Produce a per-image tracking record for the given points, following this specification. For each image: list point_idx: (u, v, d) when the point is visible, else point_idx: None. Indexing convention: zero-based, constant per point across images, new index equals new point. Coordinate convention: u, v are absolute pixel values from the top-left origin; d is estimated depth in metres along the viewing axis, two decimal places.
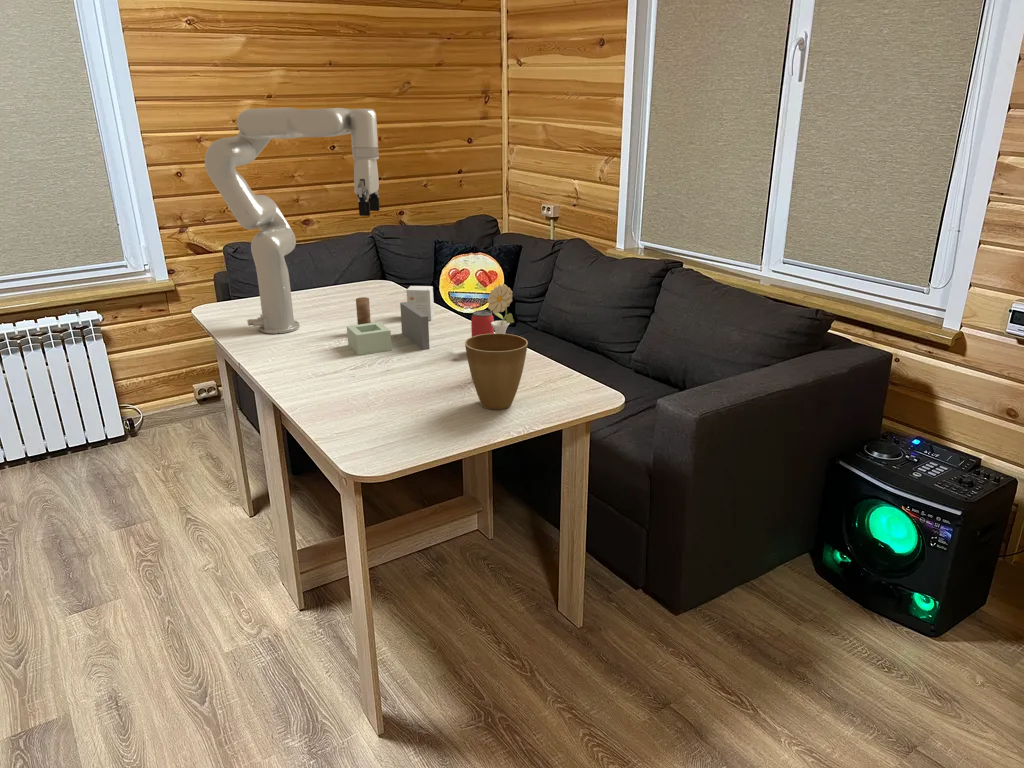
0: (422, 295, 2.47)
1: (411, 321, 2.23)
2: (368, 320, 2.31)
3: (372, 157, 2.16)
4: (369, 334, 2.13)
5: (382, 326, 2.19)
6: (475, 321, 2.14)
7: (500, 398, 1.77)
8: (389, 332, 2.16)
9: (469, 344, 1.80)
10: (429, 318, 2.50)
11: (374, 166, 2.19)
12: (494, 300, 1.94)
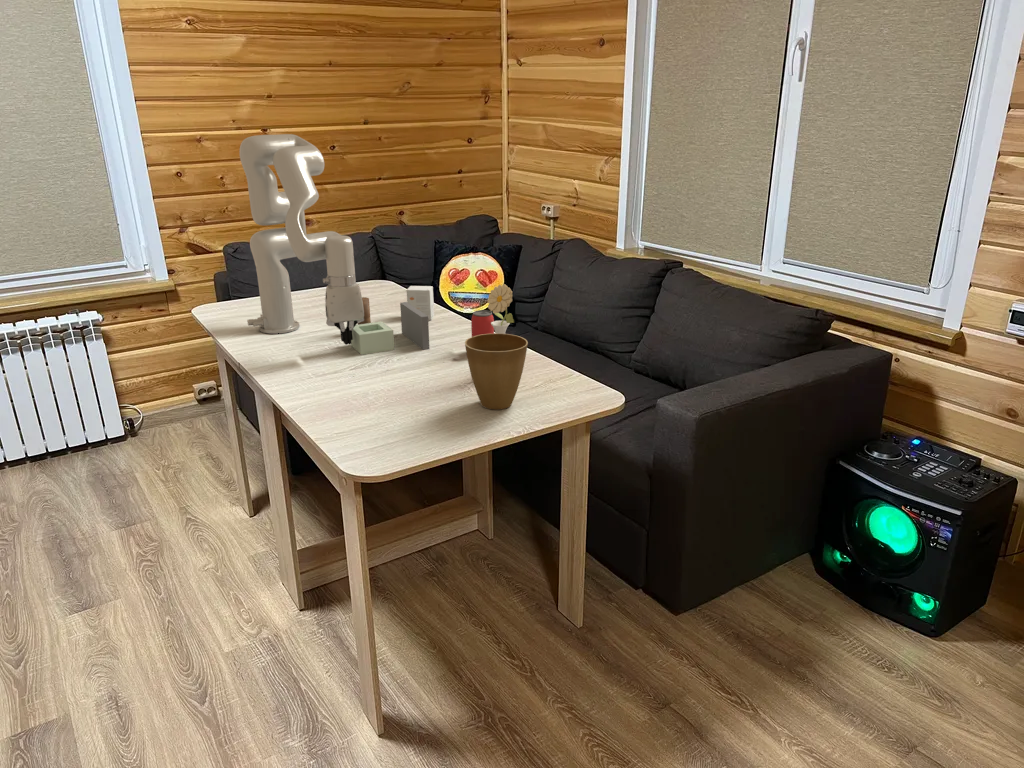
0: (422, 295, 2.47)
1: (411, 321, 2.23)
2: (368, 320, 2.31)
3: None
4: (371, 333, 2.13)
5: (385, 326, 2.20)
6: (475, 321, 2.14)
7: (500, 398, 1.77)
8: (392, 332, 2.16)
9: (469, 344, 1.80)
10: (429, 318, 2.50)
11: None
12: (494, 300, 1.94)
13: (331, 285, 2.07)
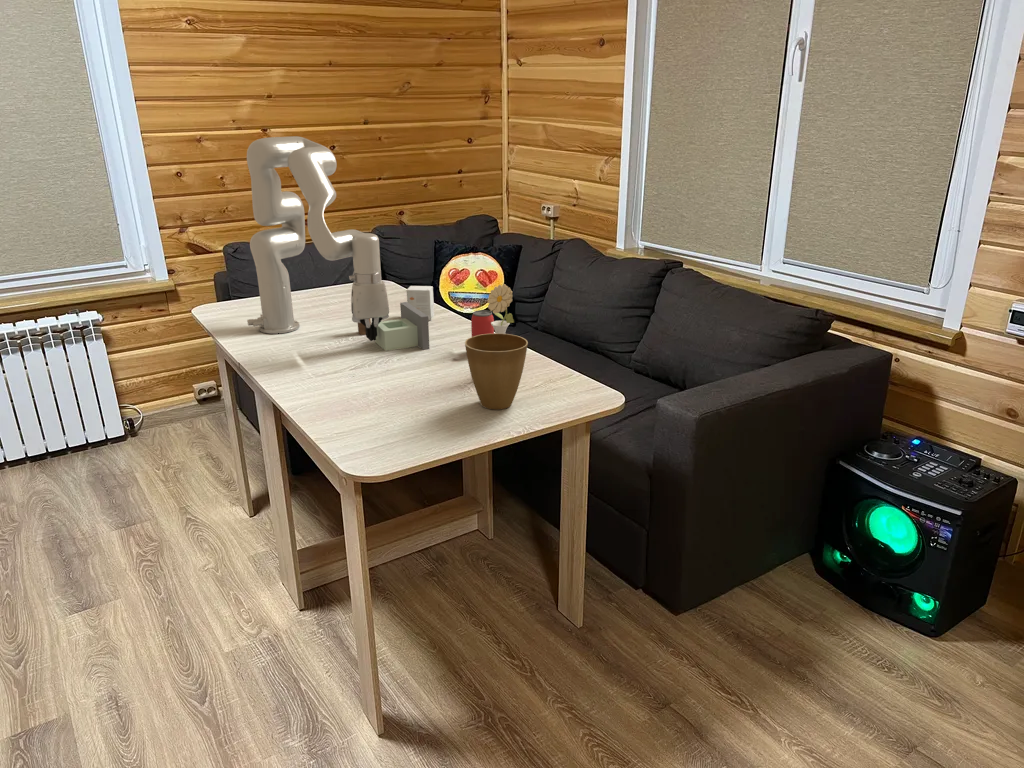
0: (422, 295, 2.47)
1: (411, 321, 2.23)
2: None
3: None
4: (396, 330, 2.16)
5: (408, 322, 2.23)
6: (475, 321, 2.14)
7: (500, 398, 1.77)
8: (416, 328, 2.19)
9: (469, 344, 1.80)
10: (429, 318, 2.50)
11: None
12: (494, 300, 1.94)
13: (357, 282, 2.10)
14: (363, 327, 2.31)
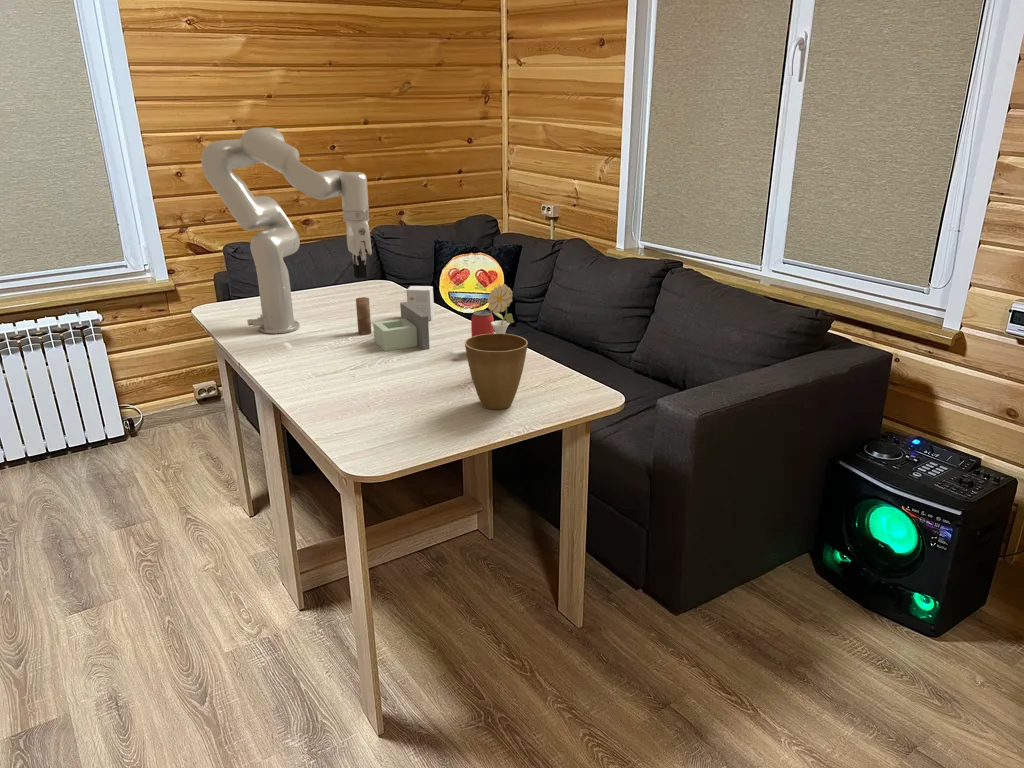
0: (422, 295, 2.47)
1: (411, 321, 2.23)
2: (368, 320, 2.31)
3: None
4: (395, 330, 2.16)
5: (408, 322, 2.23)
6: (475, 321, 2.14)
7: (500, 398, 1.77)
8: (415, 328, 2.19)
9: (469, 344, 1.80)
10: (429, 318, 2.50)
11: (348, 228, 2.21)
12: (494, 300, 1.94)
13: (364, 219, 2.18)
14: (363, 327, 2.31)
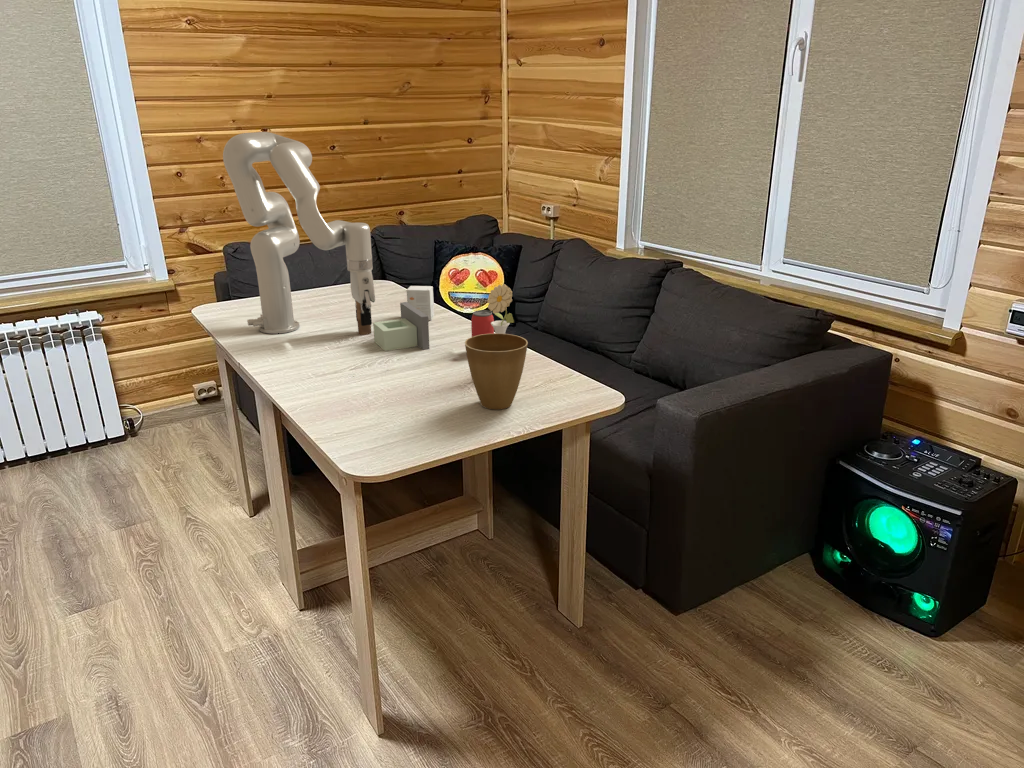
0: (422, 295, 2.47)
1: (411, 321, 2.23)
2: None
3: None
4: (395, 330, 2.16)
5: (408, 322, 2.23)
6: (475, 321, 2.14)
7: (500, 398, 1.77)
8: (415, 328, 2.19)
9: (469, 344, 1.80)
10: (429, 318, 2.50)
11: (352, 276, 2.26)
12: (494, 300, 1.94)
13: (368, 268, 2.24)
14: (363, 327, 2.31)
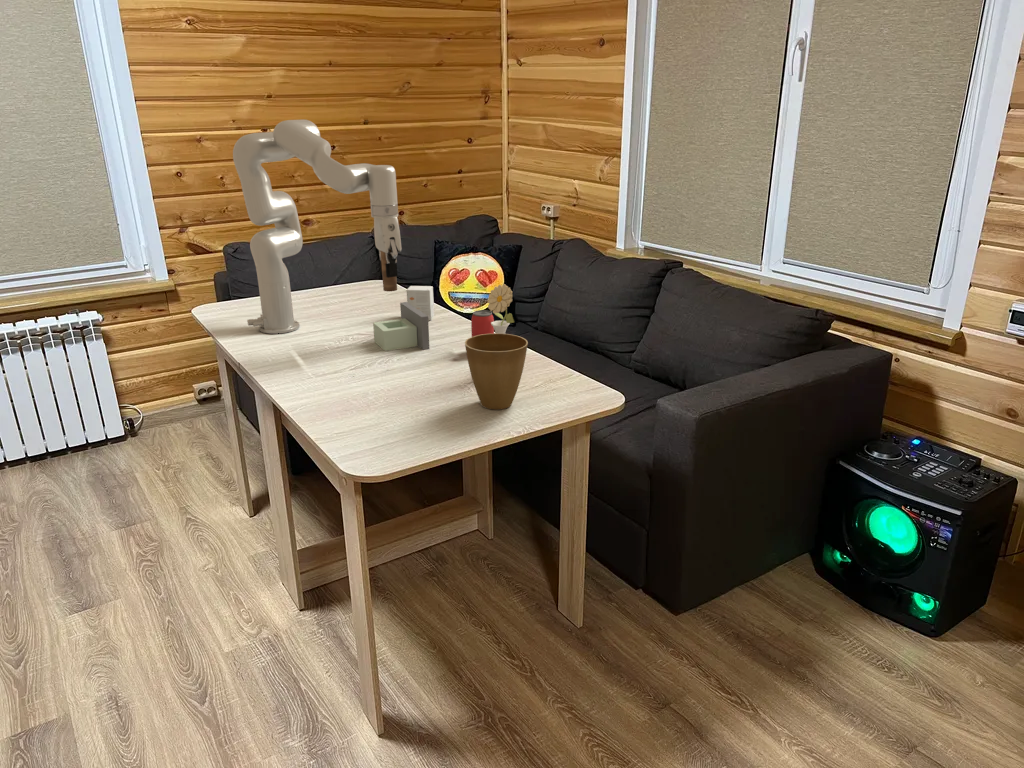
0: (422, 295, 2.47)
1: (411, 321, 2.23)
2: None
3: None
4: (395, 330, 2.16)
5: (408, 322, 2.23)
6: (475, 321, 2.14)
7: (500, 398, 1.77)
8: (415, 328, 2.19)
9: (469, 344, 1.80)
10: (429, 318, 2.50)
11: (376, 224, 2.11)
12: (494, 300, 1.94)
13: (394, 214, 2.08)
14: (388, 279, 2.15)
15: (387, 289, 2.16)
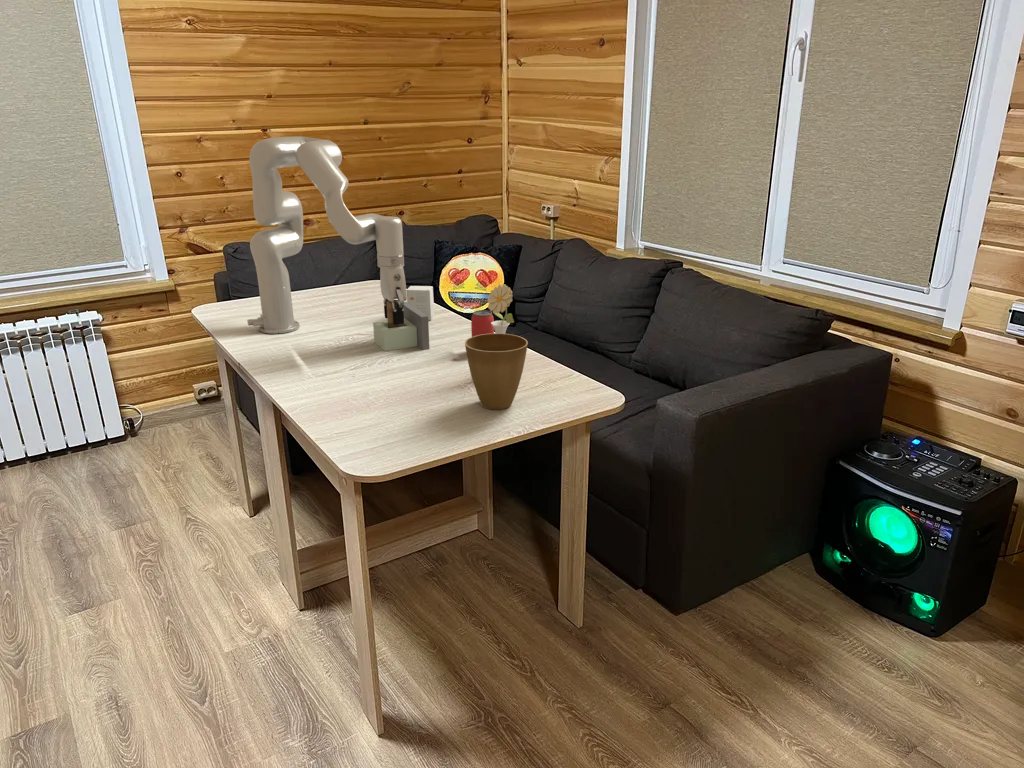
0: (422, 295, 2.47)
1: (411, 321, 2.23)
2: (399, 324, 2.20)
3: None
4: (395, 330, 2.16)
5: (408, 322, 2.23)
6: (475, 321, 2.14)
7: (500, 398, 1.77)
8: (415, 328, 2.19)
9: (469, 344, 1.80)
10: (429, 318, 2.50)
11: (382, 273, 2.15)
12: (494, 300, 1.94)
13: (400, 264, 2.12)
14: None
15: None
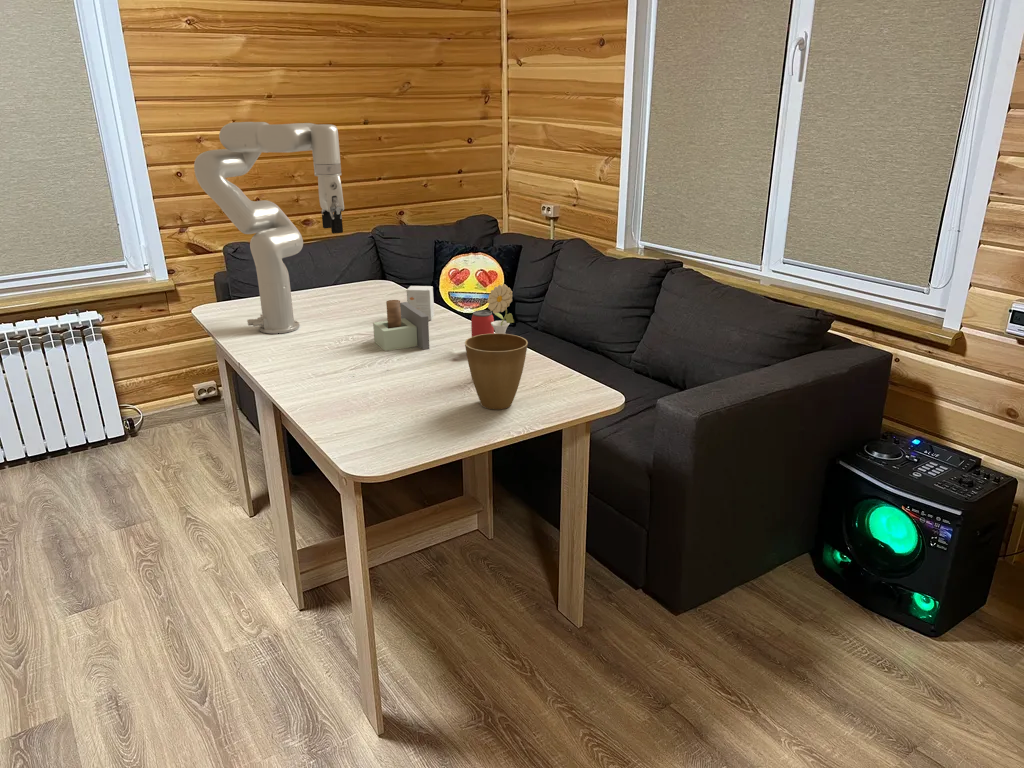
0: (422, 295, 2.47)
1: (411, 321, 2.23)
2: (399, 324, 2.20)
3: None
4: (395, 330, 2.16)
5: (408, 322, 2.23)
6: (475, 321, 2.14)
7: (500, 398, 1.77)
8: (415, 328, 2.19)
9: (469, 344, 1.80)
10: (429, 318, 2.50)
11: (319, 183, 2.14)
12: (494, 300, 1.94)
13: (336, 173, 2.12)
14: None
15: None
